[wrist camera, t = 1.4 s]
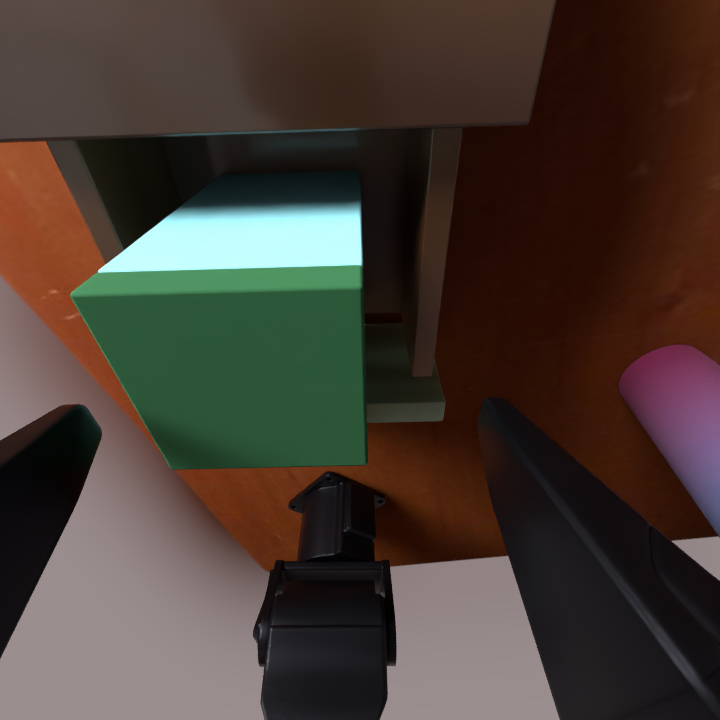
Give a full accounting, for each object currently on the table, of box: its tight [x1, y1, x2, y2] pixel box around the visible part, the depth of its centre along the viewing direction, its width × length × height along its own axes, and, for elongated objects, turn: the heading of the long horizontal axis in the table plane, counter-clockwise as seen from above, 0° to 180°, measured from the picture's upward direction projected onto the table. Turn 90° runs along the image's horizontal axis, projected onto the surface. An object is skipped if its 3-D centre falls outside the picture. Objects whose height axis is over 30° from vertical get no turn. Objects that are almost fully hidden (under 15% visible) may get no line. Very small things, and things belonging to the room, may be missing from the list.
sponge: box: [70, 170, 368, 470], centre depth 13 cm, size 6×6×10 cm
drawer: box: [46, 127, 463, 424], centre depth 16 cm, size 17×12×6 cm
